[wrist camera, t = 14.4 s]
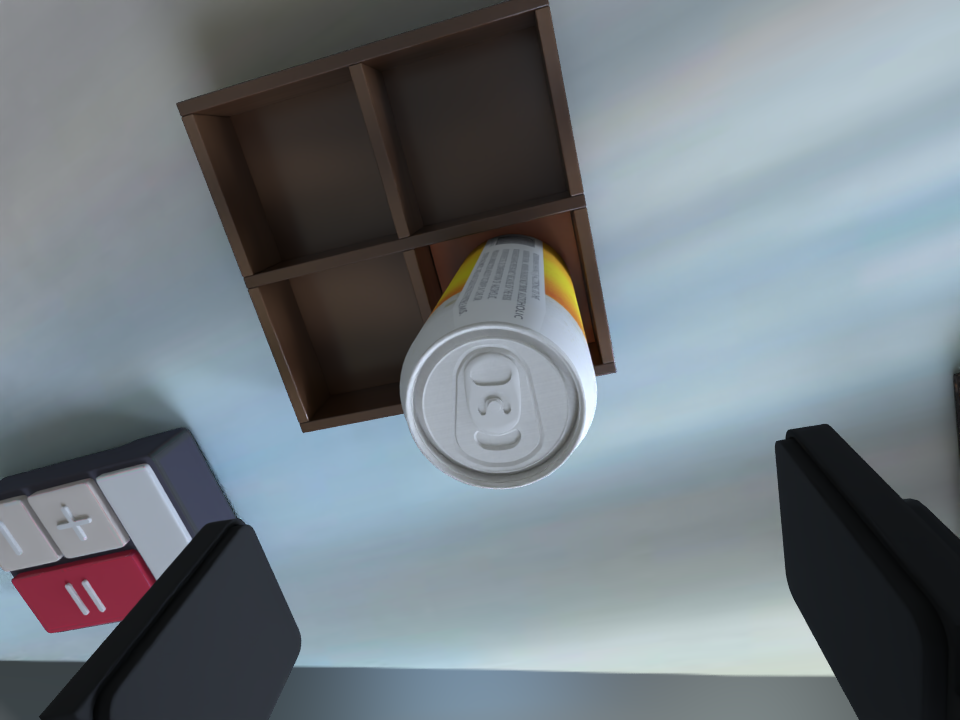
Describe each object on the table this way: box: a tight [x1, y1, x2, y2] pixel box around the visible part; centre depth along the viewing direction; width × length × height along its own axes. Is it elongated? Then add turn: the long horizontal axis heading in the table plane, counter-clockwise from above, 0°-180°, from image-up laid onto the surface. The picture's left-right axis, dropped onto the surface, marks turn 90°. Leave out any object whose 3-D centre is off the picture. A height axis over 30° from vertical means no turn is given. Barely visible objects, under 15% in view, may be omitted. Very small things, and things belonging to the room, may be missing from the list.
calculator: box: [0, 428, 236, 633], centre depth 38 cm, size 11×4×15 cm
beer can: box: [400, 234, 597, 489], centre depth 24 cm, size 6×6×15 cm
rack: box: [176, 0, 617, 433], centre depth 29 cm, size 17×17×4 cm
